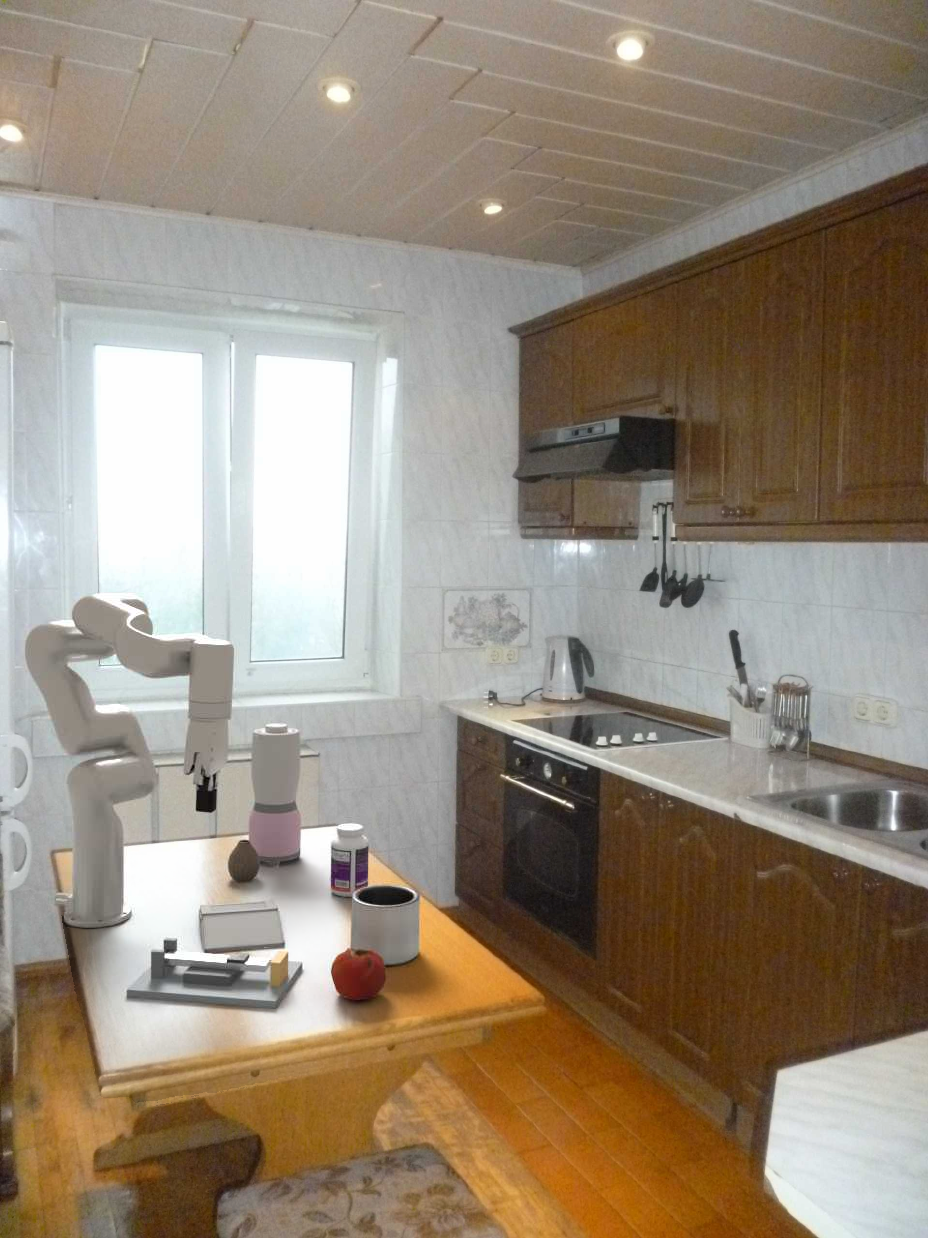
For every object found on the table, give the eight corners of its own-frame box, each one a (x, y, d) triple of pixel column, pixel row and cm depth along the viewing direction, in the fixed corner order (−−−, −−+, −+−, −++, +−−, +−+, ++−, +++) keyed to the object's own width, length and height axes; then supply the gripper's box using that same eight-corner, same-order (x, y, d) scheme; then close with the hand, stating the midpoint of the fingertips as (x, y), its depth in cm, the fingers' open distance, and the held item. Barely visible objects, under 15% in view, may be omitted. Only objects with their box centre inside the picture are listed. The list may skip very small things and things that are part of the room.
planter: (402, 973, 182) (403, 911, 181) (338, 961, 186) (339, 900, 185) (429, 948, 193) (430, 889, 193) (368, 937, 198) (369, 880, 197)
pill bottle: (363, 885, 228) (364, 820, 227) (371, 897, 220) (373, 830, 219) (326, 888, 226) (328, 823, 225) (334, 900, 218) (335, 832, 217)
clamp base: (126, 996, 169) (126, 962, 169) (165, 958, 185) (166, 927, 185) (275, 1008, 166) (276, 973, 166) (302, 968, 182) (302, 936, 182)
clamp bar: (155, 965, 175) (155, 954, 175) (164, 957, 178) (164, 946, 178) (264, 974, 173) (264, 962, 173) (271, 965, 176) (271, 954, 176)
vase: (266, 879, 231) (266, 840, 230) (244, 887, 225) (244, 847, 224) (243, 873, 234) (243, 835, 234) (221, 881, 228) (221, 841, 228)
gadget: (286, 950, 192) (286, 930, 192) (202, 957, 188) (202, 937, 188) (273, 907, 214) (273, 890, 214) (198, 913, 210) (198, 895, 210)
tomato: (334, 983, 177) (335, 937, 176) (388, 985, 176) (389, 939, 176) (326, 1007, 167) (326, 959, 167) (382, 1009, 167) (383, 961, 167)
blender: (280, 870, 237) (282, 732, 234) (236, 862, 242) (238, 726, 239) (317, 852, 251) (320, 722, 249) (275, 845, 256) (277, 717, 254)
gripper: (204, 701, 191) (200, 798, 193) (173, 715, 176) (169, 820, 178) (244, 704, 190) (239, 802, 192) (215, 719, 175) (211, 824, 177)
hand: (205, 810), depth 185 cm, fingers closed
